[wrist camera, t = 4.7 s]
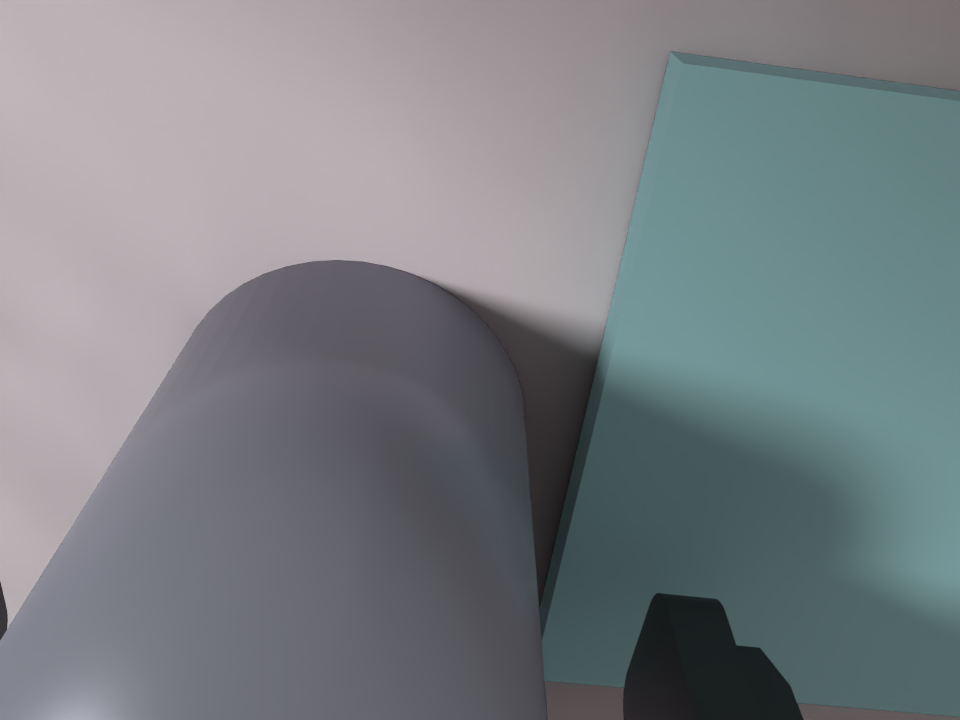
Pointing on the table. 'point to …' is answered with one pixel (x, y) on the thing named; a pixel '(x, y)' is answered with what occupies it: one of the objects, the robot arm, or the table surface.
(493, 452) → the grey lobed figure
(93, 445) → the table surface
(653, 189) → the mat
